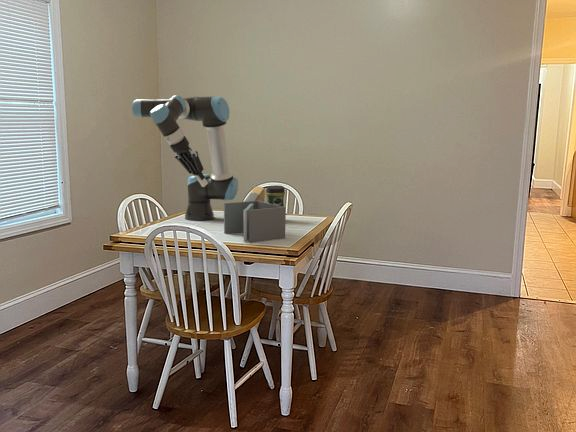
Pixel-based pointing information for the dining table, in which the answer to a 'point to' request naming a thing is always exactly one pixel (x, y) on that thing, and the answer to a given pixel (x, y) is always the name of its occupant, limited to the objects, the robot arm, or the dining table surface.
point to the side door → (247, 222)
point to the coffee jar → (275, 195)
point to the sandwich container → (256, 194)
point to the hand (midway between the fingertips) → (205, 185)
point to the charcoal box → (256, 220)
